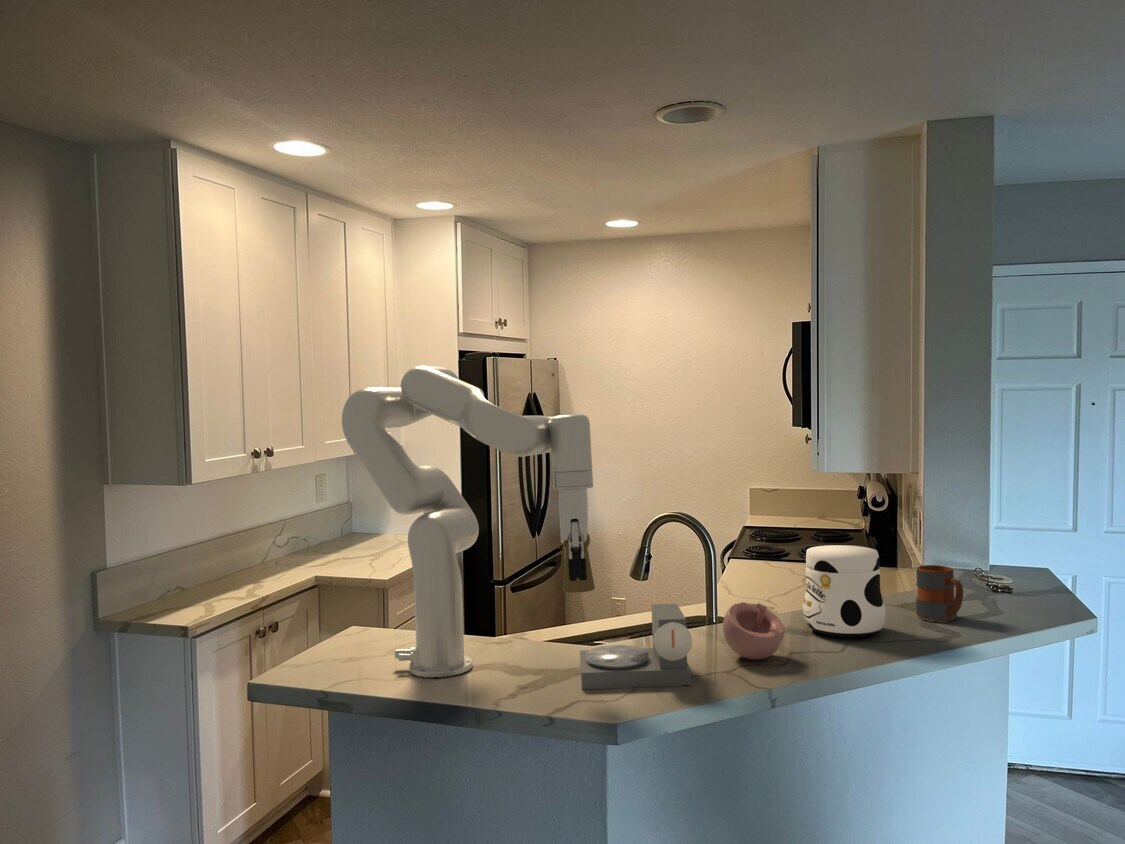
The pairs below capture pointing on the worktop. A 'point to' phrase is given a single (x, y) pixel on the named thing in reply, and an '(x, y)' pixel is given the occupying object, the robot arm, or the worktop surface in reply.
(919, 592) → the mug
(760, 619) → the mortar and pestle
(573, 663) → the worktop surface
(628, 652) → the scale pan
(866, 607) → the milk container
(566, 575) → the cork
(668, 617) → the scale
